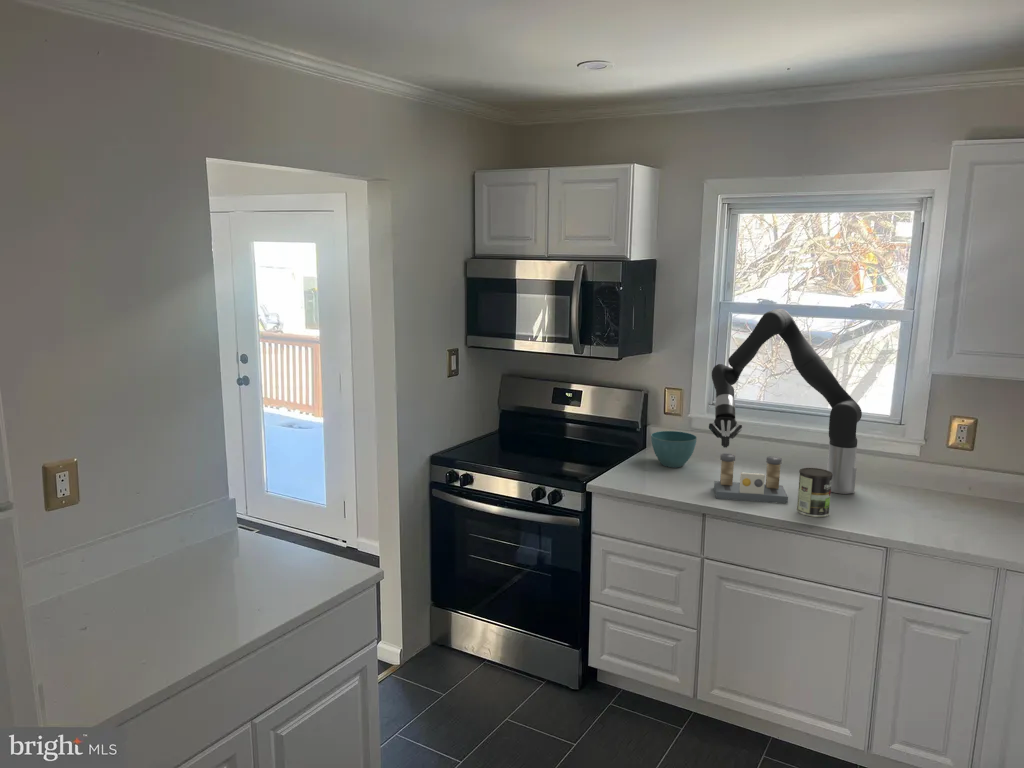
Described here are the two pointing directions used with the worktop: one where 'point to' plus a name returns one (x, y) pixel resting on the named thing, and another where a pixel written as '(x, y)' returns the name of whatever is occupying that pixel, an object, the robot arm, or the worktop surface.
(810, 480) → the coffee can
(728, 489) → the slider board
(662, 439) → the teal round bowl
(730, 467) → the far knob
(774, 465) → the near knob
